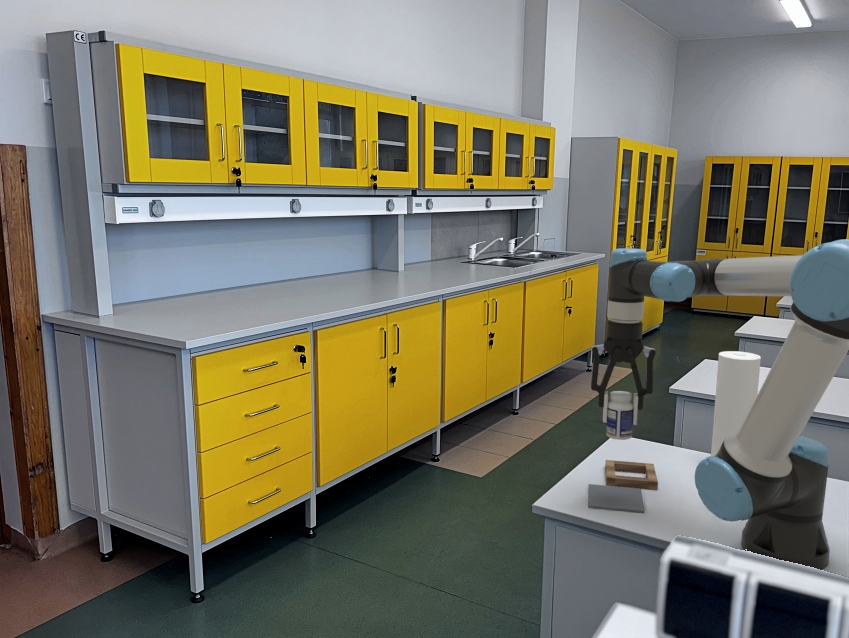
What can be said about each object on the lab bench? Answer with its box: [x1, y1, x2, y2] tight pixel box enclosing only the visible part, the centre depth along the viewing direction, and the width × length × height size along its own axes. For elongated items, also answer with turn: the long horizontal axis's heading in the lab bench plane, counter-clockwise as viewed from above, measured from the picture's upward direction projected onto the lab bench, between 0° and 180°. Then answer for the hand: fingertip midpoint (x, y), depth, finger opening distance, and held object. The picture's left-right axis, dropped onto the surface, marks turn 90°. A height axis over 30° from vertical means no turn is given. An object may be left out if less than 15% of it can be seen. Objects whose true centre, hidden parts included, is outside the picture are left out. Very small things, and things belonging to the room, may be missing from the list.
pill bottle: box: [605, 390, 634, 441], centre depth 155 cm, size 6×6×10 cm
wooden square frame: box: [604, 459, 659, 491], centre depth 169 cm, size 12×12×2 cm
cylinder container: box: [710, 350, 762, 456], centre depth 173 cm, size 9×9×30 cm
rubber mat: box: [587, 483, 646, 514], centre depth 158 cm, size 12×12×1 cm
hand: (619, 421), depth 155 cm, fingers closed on pill bottle, 6 cm apart
